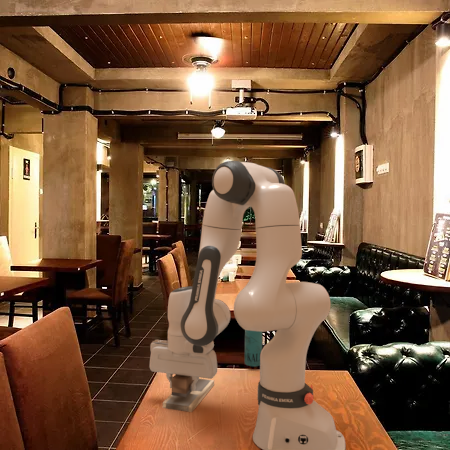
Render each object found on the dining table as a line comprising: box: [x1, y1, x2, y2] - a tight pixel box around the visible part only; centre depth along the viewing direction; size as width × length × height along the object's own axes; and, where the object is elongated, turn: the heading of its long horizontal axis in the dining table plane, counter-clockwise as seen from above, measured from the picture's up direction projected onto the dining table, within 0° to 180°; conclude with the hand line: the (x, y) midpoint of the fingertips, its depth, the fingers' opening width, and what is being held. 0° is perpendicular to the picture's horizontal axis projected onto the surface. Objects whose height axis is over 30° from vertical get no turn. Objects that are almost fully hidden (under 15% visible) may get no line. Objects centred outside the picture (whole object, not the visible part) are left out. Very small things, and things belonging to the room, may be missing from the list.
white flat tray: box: [162, 377, 215, 413], centre depth 137 cm, size 9×20×2 cm, turn 163°
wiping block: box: [171, 374, 194, 397], centre depth 131 cm, size 4×7×5 cm, turn 163°
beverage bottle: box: [243, 329, 264, 367], centre depth 160 cm, size 6×7×20 cm
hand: (182, 388), depth 131 cm, fingers closed on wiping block, 4 cm apart
